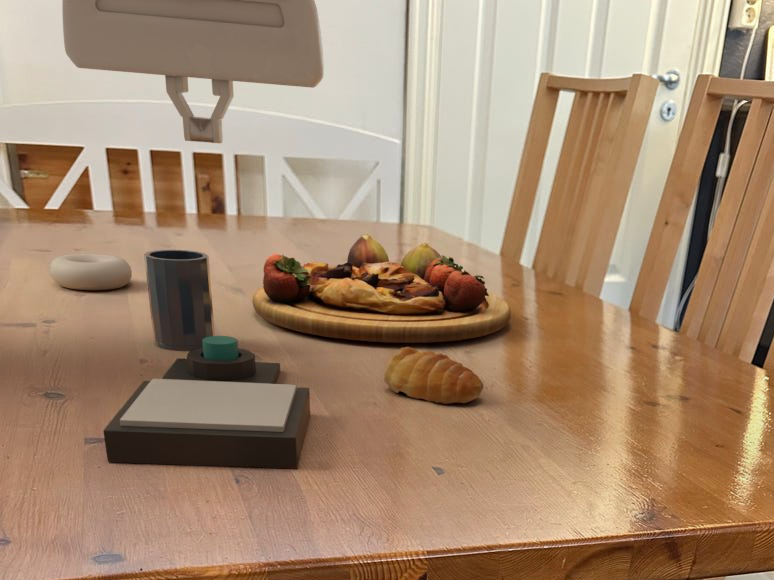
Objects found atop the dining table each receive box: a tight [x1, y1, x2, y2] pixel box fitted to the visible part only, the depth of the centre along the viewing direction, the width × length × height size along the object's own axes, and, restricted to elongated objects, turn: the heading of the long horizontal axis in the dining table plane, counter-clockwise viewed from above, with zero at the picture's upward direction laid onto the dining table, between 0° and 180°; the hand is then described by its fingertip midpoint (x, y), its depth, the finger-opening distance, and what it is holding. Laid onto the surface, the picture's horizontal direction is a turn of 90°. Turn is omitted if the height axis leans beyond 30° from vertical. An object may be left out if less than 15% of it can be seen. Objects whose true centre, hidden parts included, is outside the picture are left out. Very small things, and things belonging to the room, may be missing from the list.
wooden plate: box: [252, 234, 512, 344], centre depth 115 cm, size 32×32×8 cm
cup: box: [143, 249, 216, 352], centre depth 97 cm, size 6×6×9 cm
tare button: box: [202, 335, 239, 360], centre depth 88 cm, size 3×3×2 cm
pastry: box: [384, 346, 484, 405], centre depth 89 cm, size 9×7×4 cm
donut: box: [49, 253, 133, 291], centre depth 121 cm, size 10×4×10 cm
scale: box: [102, 378, 311, 469], centre depth 75 cm, size 14×13×3 cm
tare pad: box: [161, 347, 281, 384], centre depth 88 cm, size 10×8×2 cm
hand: (203, 141), depth 79 cm, fingers closed
